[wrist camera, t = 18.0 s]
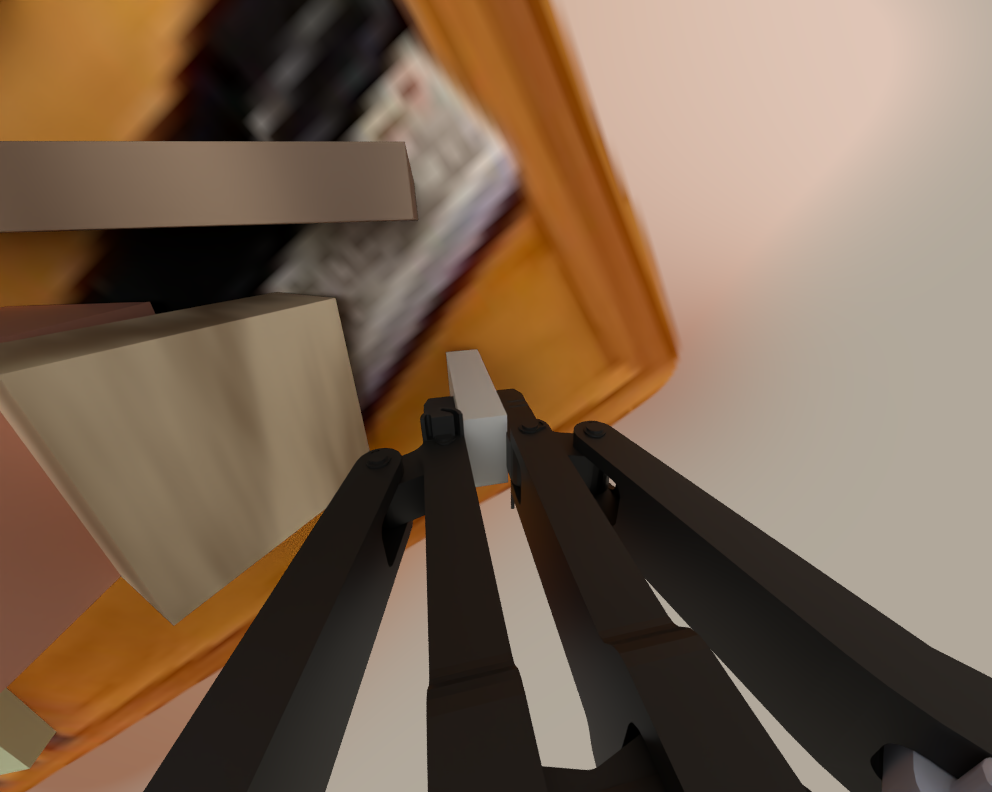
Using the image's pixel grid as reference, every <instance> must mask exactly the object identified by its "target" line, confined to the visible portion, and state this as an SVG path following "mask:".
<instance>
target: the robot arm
mask: <svg viewBox="0 0 992 792" xmlns="http://www.w3.org/2000/svg"><path fill="white" fill-rule="evenodd" d="M446 357H447V368H448V379H449V389H450V396H449V397H440V398H431V399H428V400H427V402H426V403H425V404H424V413H423V414H422V415H421V418H420V422H421V429H422V436H423V444H422V445H421V446H420V447H419V448H418V449H417V450H415V451H413V452H411V453H408V454H406V455H403V456H401V455H400V453H399V452H398V451H396V450H394V449H390V448H381V449H375V450H372V451H369V452H367V453H365V454H364V455H362V456H361V457H360V458H359V459H358V460H357V461H356V463H355V464H354V466H353V467H352V469H351V470H350V472H349V474H348V475H347V477H346V478H345V480H344V481H343V483H342V484H341V486H340V487H339V489H338V491H337V492H336V494H335V495H334V497H333V498H332V500H331V501H330V503H329V505H328V506H327V508H326V509H325V511H324V512H323V514H322V515H321V517H320V518H319V520H318V522H317V523H316V525H315V526H314V528H313V529H312V531H311V532H310V534H309V536H308V537H307V539H306V540H305V542H304V543H303V545H302V546H301V548H300V550H299V551H298V553H297V554H296V556H295V557H294V559H293V560H292V562H291V563H290V565H289V567H288V568H287V570H286V571H285V573H284V574H283V576H282V577H281V579H280V581H279V582H278V584H277V585H276V587H275V588H274V590H273V591H272V593H271V594H270V596H269V598H268V599H267V601H266V602H265V604H264V605H263V607H262V608H261V610H260V612H259V613H258V615H257V616H256V618H255V619H254V621H253V622H252V624H251V625H250V627H249V629H248V630H247V632H246V633H245V635H244V636H243V638H242V639H241V641H240V643H239V644H238V646H237V647H236V649H235V650H234V652H233V653H232V655H231V657H230V658H229V660H228V661H227V663H226V664H225V666H224V667H223V669H222V670H221V672H220V674H219V675H218V677H217V678H216V680H215V681H214V683H213V685H212V686H211V688H210V689H209V691H208V692H207V694H206V695H205V697H204V698H203V700H202V701H201V703H200V705H199V706H198V708H197V709H196V711H195V712H194V714H193V715H192V717H191V719H190V720H189V722H188V723H187V725H186V726H185V728H184V729H183V731H182V733H181V734H180V736H179V737H178V739H177V740H176V742H175V743H174V745H173V747H172V748H171V750H170V751H169V753H168V754H167V756H166V757H165V759H164V760H163V762H162V764H161V765H160V767H159V768H158V770H157V771H156V773H155V775H154V776H153V778H152V779H151V781H150V782H149V784H148V785H147V787H146V788H145V790H144V791H143V792H325V790H326V788H327V784H328V782H329V779H330V776H331V772H332V769H333V766H334V763H335V760H336V757H337V754H338V751H339V748H340V745H341V742H342V739H343V736H344V733H345V730H346V726H347V724H348V721H349V718H350V715H351V712H352V709H353V705H354V702H355V699H356V696H357V693H358V690H359V687H360V684H361V681H362V678H363V675H364V672H365V669H366V666H367V663H368V660H369V657H370V654H371V651H372V648H373V644H374V641H375V639H376V636H377V632H378V629H379V626H380V623H381V620H382V617H383V614H384V611H385V608H386V605H387V602H388V599H389V596H390V593H391V590H392V587H393V584H394V580H395V577H396V574H397V571H398V569H399V566H400V562H401V559H402V556H403V553H404V550H405V547H406V544H407V541H408V538H409V535H410V532H411V529H412V524H413V520H414V519H417V518H419V517H421V516H424V515H425V528H426V564H427V565H426V566H427V601H428V602H427V604H428V637H429V638H428V639H429V640H428V641H429V687H428V689H427V766H428V767H427V770H428V792H811V791H810V790H809V789H808V788H806V787H805V786H804V785H802V783H801V782H800V780H799V779H798V777H797V776H796V775H795V773H794V772H793V770H792V769H791V767H790V766H789V764H788V763H787V761H786V760H785V758H784V757H783V755H782V754H781V752H780V751H779V749H778V748H777V746H776V745H775V744H774V742H773V741H772V739H771V738H770V736H769V735H768V733H767V732H766V730H765V729H764V727H763V726H762V724H761V723H760V721H759V720H758V718H757V717H756V715H755V714H754V713H753V711H752V710H751V708H750V707H749V705H748V704H747V702H746V701H745V699H744V698H743V696H742V695H741V693H740V692H739V690H738V689H737V687H736V686H735V684H734V683H733V682H732V680H731V679H730V677H729V676H728V674H727V673H726V671H725V670H724V668H723V667H722V665H721V664H720V662H719V661H718V659H717V658H716V656H715V655H714V653H715V654H716V655H717V656H718V657H719V658H720V659H721V661H722V662H723V663H724V664H725V665H726V666H727V667H728V668H729V669H730V670H731V671H732V672H733V673H734V675H735V676H736V677H737V678H738V679H739V680H740V681H741V682H742V683H743V684H744V685H745V686H746V687H747V689H748V690H749V691H750V692H751V693H752V694H753V695H754V696H755V697H756V698H757V699H758V700H759V701H760V702H761V704H763V706H764V707H765V708H766V709H767V710H768V711H769V712H770V713H771V714H772V715H773V717H775V719H776V720H777V721H778V722H779V723H780V724H781V725H782V726H783V727H784V728H785V729H786V731H788V733H789V734H791V736H792V737H793V738H794V739H795V740H796V741H797V742H798V743H799V744H800V745H801V746H802V747H803V748H804V749H805V750H806V751H807V752H808V753H809V754H810V755H811V756H812V757H813V758H814V759H815V760H816V761H817V762H818V763H819V764H820V765H821V766H822V767H824V768H825V769H826V770H827V771H828V772H829V773H830V774H831V775H832V776H833V777H834V778H836V779H837V780H838V781H839V782H840V783H841V784H842V785H843V786H844V787H846V788H847V789H848V790H849V791H850V792H992V678H991V677H989V676H987V675H985V674H983V673H981V672H979V671H977V670H975V669H973V668H971V667H969V666H967V665H965V664H963V663H961V662H959V661H957V660H955V659H953V658H951V657H950V656H948V655H946V654H944V653H941V652H939V651H938V650H936V649H934V648H932V647H930V646H929V645H927V644H926V643H924V642H923V641H922V640H920V639H919V638H917V637H916V636H914V635H913V634H911V633H910V632H908V631H907V630H905V629H904V628H903V627H901V626H900V625H898V624H897V623H895V622H894V621H892V620H891V619H890V618H888V617H887V616H885V615H884V614H882V613H881V612H879V611H878V610H876V609H875V608H874V607H872V606H871V605H869V604H868V603H866V602H865V601H863V600H862V599H861V598H859V597H858V596H856V595H855V594H853V593H852V592H850V591H849V590H847V589H846V588H845V587H843V586H842V585H840V584H839V583H837V582H836V581H834V580H833V579H831V578H830V577H829V576H827V575H826V574H824V573H823V572H821V571H820V570H818V569H817V568H815V567H814V566H812V565H811V564H810V563H808V562H807V561H805V560H804V559H802V558H801V557H800V556H798V555H797V554H795V553H794V552H792V551H791V550H789V549H788V548H786V547H785V546H783V545H782V544H780V543H779V542H778V541H776V540H775V539H773V538H772V537H770V536H769V535H767V534H766V533H764V532H763V531H762V530H760V529H759V528H757V527H756V526H754V525H753V524H752V523H750V522H749V521H747V520H745V519H744V518H743V517H741V516H740V515H738V514H737V513H735V512H734V511H733V510H731V509H730V508H728V507H727V506H725V505H724V504H723V503H721V502H720V501H718V500H717V499H715V498H714V497H712V496H711V495H709V494H708V493H706V492H705V491H704V490H702V489H701V488H699V487H698V486H696V485H695V484H693V483H692V482H691V481H689V480H688V479H686V478H685V477H683V476H682V475H680V474H679V473H677V472H676V471H674V470H673V469H672V468H670V467H669V466H667V465H666V464H664V463H663V462H661V461H660V460H659V459H657V458H656V457H654V456H653V455H651V454H650V453H648V452H647V451H646V450H644V449H642V448H641V447H640V446H638V445H637V444H635V443H634V442H632V441H631V440H629V439H628V438H627V437H625V436H624V435H622V434H621V433H619V432H618V431H616V430H615V429H614V428H612V427H611V426H609V425H607V424H605V423H601V422H598V421H585V422H581V423H579V424H577V425H576V426H575V427H574V433H560V432H554V431H552V430H551V428H550V427H549V425H548V424H547V423H546V422H544V421H542V420H540V419H536V417H535V416H534V414H533V412H532V411H531V409H530V407H529V406H528V404H527V402H526V401H525V399H524V397H523V395H522V394H521V393H520V392H518V391H517V390H515V389H506V390H497V391H496V390H495V387H494V385H493V383H492V381H491V378H490V376H489V374H488V372H487V370H486V367H485V365H484V363H483V361H482V359H481V356H480V354H479V352H478V350H477V349H475V350H464V351H452V352H446ZM508 473H509V475H510V478H511V509H514V503H515V505H516V508H517V511H518V514H519V517H520V520H521V523H522V526H523V529H524V532H525V535H526V537H527V541H528V543H529V546H530V549H531V553H532V555H533V559H534V562H535V565H536V568H537V570H538V573H539V576H540V579H541V582H542V585H543V588H544V591H545V594H546V597H547V600H548V603H549V606H550V609H551V612H552V615H553V618H554V621H555V624H556V627H557V630H558V633H559V636H560V639H561V642H562V645H563V648H564V651H565V654H566V657H567V660H568V663H569V666H570V668H571V672H572V675H573V678H574V681H575V684H576V686H577V690H578V692H579V696H580V699H581V702H582V705H583V708H584V710H585V714H586V717H587V721H588V726H589V731H590V739H591V745H592V751H593V755H594V759H595V763H596V767H597V768H595V769H592V770H579V769H567V768H555V767H543V766H542V765H541V761H540V757H539V752H538V748H537V744H536V739H535V735H534V730H533V726H532V721H531V717H530V713H529V708H528V704H527V700H526V695H525V691H524V687H523V683H522V679H521V676H520V673H519V670H518V668H517V667H516V666H515V664H514V661H513V657H512V653H511V648H510V644H509V639H508V634H507V630H506V625H505V621H504V616H503V612H502V607H501V602H500V598H499V593H498V589H497V584H496V579H495V575H494V570H493V566H492V561H491V556H490V552H489V547H488V542H487V538H486V533H485V529H484V525H483V519H482V515H481V510H480V506H479V501H478V496H477V492H476V487H479V486H486V485H493V484H499V483H506V482H508ZM609 478H610V479H612V480H613V481H614V482H615V483H616V486H615V487H614V486H612V485H611V484H610V483H609ZM645 579H646V580H647V581H648V582H649V583H650V584H651V585H652V586H653V587H654V588H655V590H656V591H657V592H658V593H659V594H660V595H661V596H662V597H663V598H664V599H665V600H666V601H667V603H668V604H670V606H671V607H672V608H673V609H674V610H675V611H676V612H677V613H678V614H679V615H680V616H681V617H682V619H683V620H684V621H685V622H686V623H687V624H688V625H689V626H690V627H691V628H692V629H693V630H694V631H693V630H692V629H691V628H687V627H678V626H677V625H676V624H674V623H673V622H672V620H671V619H670V618H669V616H668V615H667V613H666V612H665V610H664V608H663V607H662V605H661V604H660V602H659V601H658V599H657V597H656V596H655V594H654V592H653V591H652V589H651V588H650V586H649V584H648V583H647V581H646V580H645ZM712 651H713V652H714V653H713V652H712Z"/></svg>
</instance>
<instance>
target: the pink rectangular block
mask: <svg viewBox="0 0 992 792" xmlns="http://www.w3.org/2000/svg"><path fill="white" fill-rule="evenodd" d="M150 315H155V312H154V310H153V308H152V305H151V303H150V302H128V303H98V304H68V305H38V306H8V307H1V308H0V343H3V342H9V341H14V340H20V339H25V338H31V337H36V336H41V335H47V334H52V333H58V332H63V331H68V330H74V329H79V328H85V327H90V326H96V325H101V324H106V323H112V322H117V321H123V320H128V319H133V318H139V317H144V316H150ZM119 577H121V575H120V574H119V572H118V571H117V570H116V568H115V567H114V565H113V564H112V563H111V561H110V560H109V559H108V557H107V556H106V555H105V553H104V552H103V550H102V549H101V548H100V546H99V545H98V544H97V542H96V541H95V540H94V538H93V537H92V535H91V534H90V533H89V531H88V530H87V529H86V527H85V526H84V525H83V523H82V522H81V521H80V519H79V518H78V516H77V515H76V514H75V512H74V511H73V510H72V508H71V507H70V506H69V504H68V503H67V501H66V500H65V499H64V497H63V496H62V495H61V493H60V492H59V491H58V489H57V488H56V486H55V485H54V484H53V482H52V481H51V480H50V478H49V477H48V476H47V474H46V473H45V471H44V470H43V469H42V467H41V466H40V465H39V463H38V462H37V461H36V459H35V458H34V456H33V455H32V454H31V452H30V451H29V450H28V448H27V447H26V446H25V444H24V443H23V441H22V440H21V439H20V437H19V436H18V435H17V433H16V432H15V431H14V429H13V428H12V426H11V425H10V424H9V422H8V421H7V420H6V418H5V417H4V416H3V414H2V413H1V411H0V693H1V692H2V691H3V690H4V689H5V688H6V687H7V686H8V685H9V684H10V683H11V682H12V681H13V680H15V679H16V678H17V677H18V676H19V675H20V674H21V673H22V672H23V671H24V670H25V669H26V668H27V667H28V666H29V665H30V664H31V663H32V662H33V661H34V660H35V659H36V658H37V657H38V656H39V655H40V654H41V653H42V652H43V651H44V650H45V649H46V648H47V647H48V646H50V645H51V644H52V643H53V642H54V641H55V640H56V639H57V638H58V637H59V636H60V635H61V634H62V633H63V632H64V631H65V630H66V629H67V628H68V627H69V626H70V625H71V624H72V623H73V622H74V621H75V620H76V619H77V618H78V617H79V616H80V615H81V614H82V613H83V612H84V611H86V610H87V609H88V608H89V607H90V606H91V605H92V604H93V603H94V602H95V601H96V600H97V599H98V598H99V597H100V596H101V595H102V594H103V593H104V592H105V591H106V590H107V589H108V588H109V587H110V586H111V585H112V584H113V583H114V582H115V581H116V580H117V579H118V578H119Z"/></svg>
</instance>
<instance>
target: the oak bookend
mask: <svg viewBox="0 0 992 792" xmlns="http://www.w3.org/2000/svg"><path fill="white" fill-rule="evenodd" d="M0 411H1V413H2V414H3V416H4V417H5V418H6V420H7V421H8V422H9V424H10V425H11V426H12V428H13V429H14V431H15V432H16V433H17V435H18V436H19V437H20V439H21V440H22V441H23V443H24V444H25V446H26V447H27V448H28V450H29V451H30V452H31V454H32V455H33V456H34V458H35V459H36V461H37V462H38V463H39V465H40V466H41V467H42V469H43V470H44V471H45V473H46V474H47V476H48V477H49V478H50V480H51V481H52V482H53V484H54V485H55V486H56V488H57V489H58V491H59V492H60V493H61V495H62V496H63V497H64V499H65V500H66V501H67V503H68V504H69V506H70V507H71V508H72V510H73V511H74V512H75V514H76V515H77V516H78V518H79V519H80V521H81V522H82V523H83V525H84V526H85V527H86V529H87V530H88V531H89V533H90V534H91V535H92V537H93V538H94V540H95V541H96V542H97V544H98V545H99V546H100V548H101V549H102V550H103V552H104V553H105V555H106V556H107V557H108V559H109V560H110V561H111V563H112V564H113V565H114V567H115V568H116V570H117V571H118V572H119V574H120V575H121V576H122V577H123V578H124V579H125V580H126V581H127V582H128V583H129V584H130V585H131V586H132V587H133V588H134V589H135V590H136V591H137V592H138V593H140V594H141V595H142V596H143V597H144V598H145V599H146V600H147V601H148V602H149V603H150V604H151V605H152V606H153V607H154V608H155V609H157V610H158V611H159V612H160V613H161V614H162V615H163V616H164V617H165V618H166V619H167V620H168V621H169V622H170V623H171V624H172V625H175V624H177V623H178V622H179V621H180V620H182V619H183V618H184V617H186V616H187V615H188V614H190V613H191V612H192V611H193V610H195V609H196V608H197V607H199V606H200V605H201V604H203V603H204V602H205V601H206V600H208V599H209V598H210V597H212V596H213V595H214V594H215V593H217V592H218V591H219V590H221V589H222V588H223V587H225V586H226V585H227V584H228V583H230V582H231V581H232V580H234V579H235V578H236V577H238V576H239V575H240V574H241V573H243V572H244V571H245V570H247V569H248V568H249V567H251V566H252V565H253V564H254V563H256V562H257V561H258V560H260V559H261V558H262V557H263V556H265V555H266V554H267V553H269V552H270V551H271V550H273V549H274V548H275V547H276V546H278V545H279V544H280V543H282V542H283V541H284V540H286V539H287V538H288V537H289V536H291V535H292V534H293V533H295V532H296V531H297V530H298V529H300V528H301V527H302V526H304V525H305V524H306V523H308V522H309V521H310V520H311V519H313V518H314V517H315V516H317V515H318V514H319V513H321V512H322V511H323V510H324V509H326V508H327V506H328V505H329V503H330V501H331V500H332V498H333V497H334V495H335V494H336V492H337V491H338V489H339V487H340V486H341V484H342V483H343V481H344V480H345V478H346V477H347V475H348V474H349V472H350V470H351V469H352V467H353V466H354V464H355V463H356V461H357V460H358V459H359V458H360V457H361V456H362V455H364V454H365V453H367V452H369V451H370V450H369V446H368V441H367V437H366V433H365V428H364V424H363V419H362V415H361V410H360V406H359V401H358V397H357V392H356V388H355V383H354V379H353V375H352V370H351V366H350V361H349V357H348V352H347V348H346V343H345V339H344V334H343V330H342V325H341V321H340V317H339V312H338V308H337V303H336V299H335V298H331V297H321V296H311V295H300V294H290V293H280V292H274V293H269V294H263V295H258V296H253V297H247V298H242V299H236V300H231V301H225V302H220V303H215V304H209V305H204V306H198V307H193V308H188V309H182V310H177V311H171V312H166V313H160V314H155V315H150V316H144V317H139V318H133V319H128V320H123V321H117V322H112V323H106V324H101V325H96V326H90V327H85V328H79V329H74V330H68V331H63V332H58V333H52V334H47V335H41V336H36V337H31V338H25V339H20V340H14V341H9V342H3V343H0Z"/></svg>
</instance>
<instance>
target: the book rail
mask: <svg viewBox="0 0 992 792" xmlns="http://www.w3.org/2000/svg"><path fill="white" fill-rule="evenodd" d="M404 220H418V214H417V205H416V196H415V187H414V180H413V176H412V172H411V167H410V163H409V159H408V155H407V150H406V146H405V142H191V141H0V233H14V232H47V231H79V230H112V229H144V228H177V227H209V226H242V225H274V224H307V223H339V222H372V221H404Z"/></svg>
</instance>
